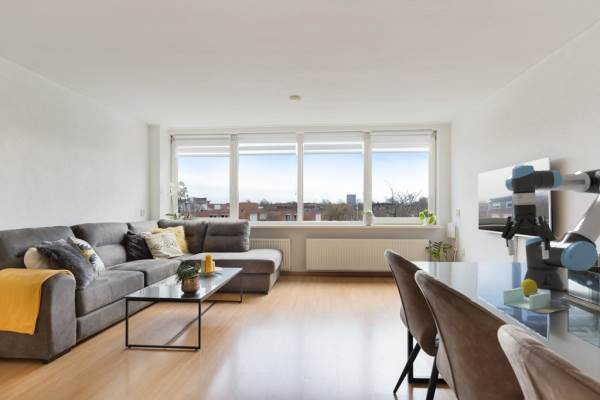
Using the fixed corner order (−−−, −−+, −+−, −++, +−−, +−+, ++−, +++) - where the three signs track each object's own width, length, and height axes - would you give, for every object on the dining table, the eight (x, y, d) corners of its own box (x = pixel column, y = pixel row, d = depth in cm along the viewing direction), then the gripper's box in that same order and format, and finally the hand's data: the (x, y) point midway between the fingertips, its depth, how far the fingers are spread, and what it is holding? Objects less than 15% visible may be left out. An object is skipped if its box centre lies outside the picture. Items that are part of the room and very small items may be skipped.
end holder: (521, 300, 135) (520, 287, 135) (550, 306, 125) (549, 292, 125) (503, 304, 131) (503, 290, 131) (532, 311, 121) (531, 296, 121)
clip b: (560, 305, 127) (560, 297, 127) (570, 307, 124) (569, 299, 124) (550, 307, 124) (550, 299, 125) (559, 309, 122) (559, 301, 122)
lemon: (540, 300, 139) (539, 279, 139) (525, 300, 140) (524, 279, 140) (534, 296, 144) (533, 277, 144) (519, 296, 145) (518, 277, 145)
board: (535, 301, 137) (535, 298, 137) (574, 310, 125) (574, 306, 125) (506, 307, 130) (505, 304, 130) (544, 317, 118) (544, 313, 118)
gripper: (490, 205, 153) (493, 254, 152) (552, 203, 130) (555, 261, 129) (502, 204, 156) (504, 253, 155) (564, 202, 133) (567, 259, 133)
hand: (527, 257), depth 142 cm, fingers open, 13 cm apart
